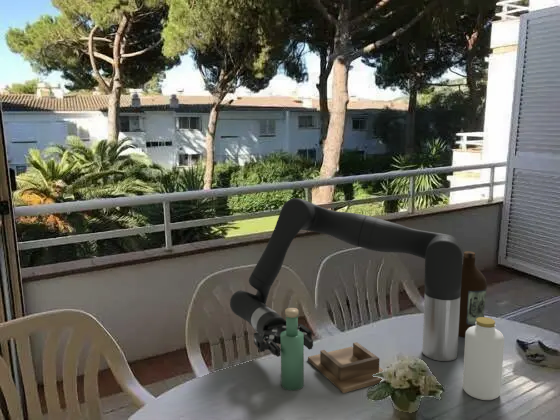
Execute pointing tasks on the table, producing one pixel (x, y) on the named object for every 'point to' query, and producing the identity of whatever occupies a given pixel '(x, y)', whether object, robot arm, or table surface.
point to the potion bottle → (483, 360)
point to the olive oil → (471, 293)
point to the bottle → (292, 353)
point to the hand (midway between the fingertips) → (295, 349)
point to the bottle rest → (348, 367)
